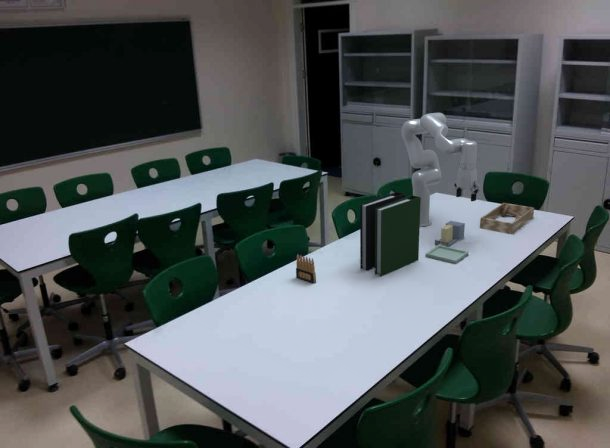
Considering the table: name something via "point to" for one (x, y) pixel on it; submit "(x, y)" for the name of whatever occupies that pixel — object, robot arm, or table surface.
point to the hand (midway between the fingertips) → (465, 198)
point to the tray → (447, 254)
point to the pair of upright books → (389, 232)
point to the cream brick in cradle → (446, 234)
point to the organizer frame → (506, 227)
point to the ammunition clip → (305, 269)
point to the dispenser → (454, 233)
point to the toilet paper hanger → (509, 212)
